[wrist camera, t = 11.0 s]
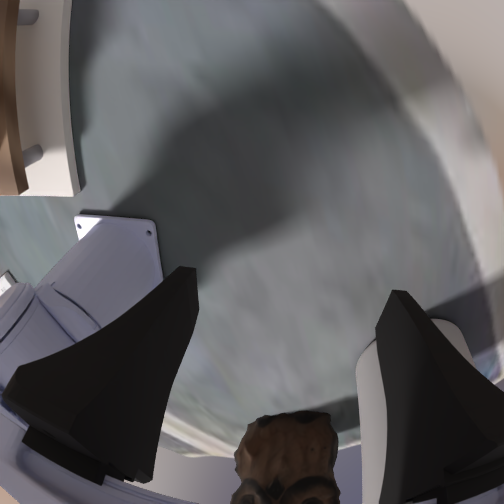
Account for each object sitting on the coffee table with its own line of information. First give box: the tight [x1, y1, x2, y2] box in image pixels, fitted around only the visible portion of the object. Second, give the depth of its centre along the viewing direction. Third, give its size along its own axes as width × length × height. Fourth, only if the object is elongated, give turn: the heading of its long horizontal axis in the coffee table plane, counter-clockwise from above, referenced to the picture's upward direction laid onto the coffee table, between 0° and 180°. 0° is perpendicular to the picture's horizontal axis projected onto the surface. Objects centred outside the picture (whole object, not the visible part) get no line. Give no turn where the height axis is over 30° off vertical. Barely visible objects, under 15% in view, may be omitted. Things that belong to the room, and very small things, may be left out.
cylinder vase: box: [356, 319, 476, 504], centre depth 17 cm, size 12×12×25 cm
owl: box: [230, 411, 340, 504], centre depth 29 cm, size 13×13×20 cm
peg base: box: [10, 0, 81, 197], centre depth 14 cm, size 20×12×4 cm, turn 177°
